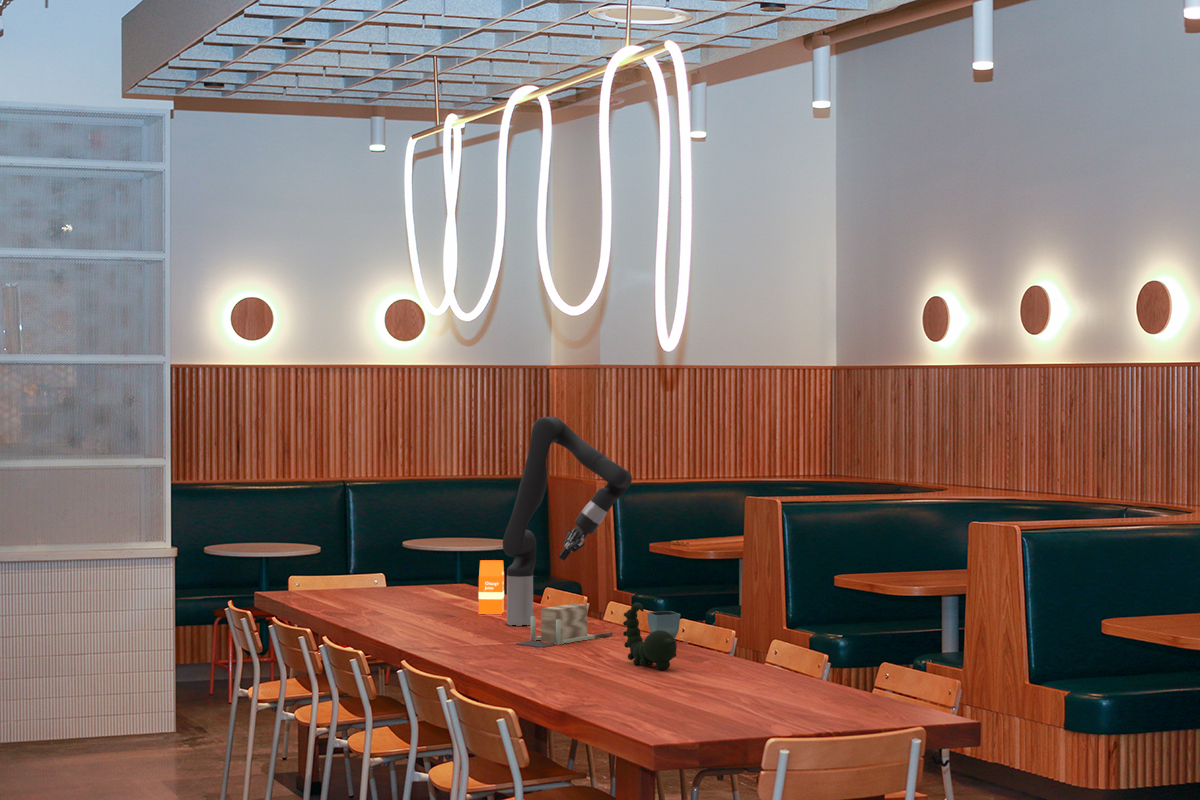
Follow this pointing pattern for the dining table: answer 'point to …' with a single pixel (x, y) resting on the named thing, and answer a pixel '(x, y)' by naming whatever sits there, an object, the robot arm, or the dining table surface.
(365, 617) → the dining table surface
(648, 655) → the toy figurine
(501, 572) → the orange juice
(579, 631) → the beech block
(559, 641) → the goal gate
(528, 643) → the pit mat
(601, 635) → the lane
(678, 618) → the flower pot
